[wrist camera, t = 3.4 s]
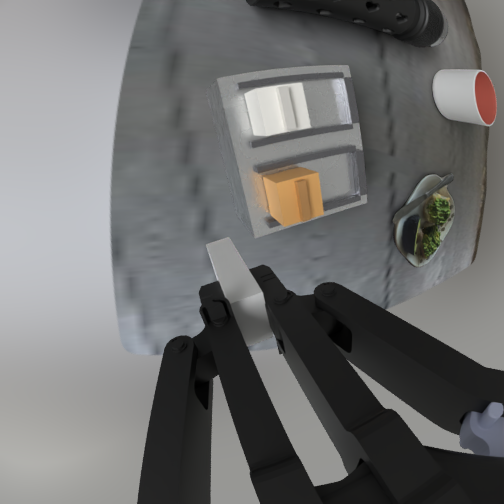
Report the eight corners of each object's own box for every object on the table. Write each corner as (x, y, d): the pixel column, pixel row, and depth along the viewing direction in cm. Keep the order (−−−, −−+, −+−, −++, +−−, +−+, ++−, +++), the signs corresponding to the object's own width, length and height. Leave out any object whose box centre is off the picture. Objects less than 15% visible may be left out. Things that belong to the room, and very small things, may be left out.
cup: (426, 107, 36) (471, 111, 28) (430, 60, 33) (474, 59, 24) (454, 126, 40) (494, 134, 31) (458, 83, 36) (498, 87, 27)
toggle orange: (300, 166, 26) (321, 173, 23) (306, 204, 28) (327, 216, 25) (262, 176, 26) (278, 184, 22) (270, 215, 28) (287, 229, 24)
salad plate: (430, 144, 40) (449, 148, 36) (459, 201, 48) (475, 207, 44) (376, 228, 43) (394, 238, 39) (415, 272, 51) (430, 282, 47)
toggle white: (285, 87, 23) (305, 81, 19) (293, 127, 24) (314, 127, 21) (244, 93, 22) (258, 87, 18) (253, 135, 24) (269, 136, 20)
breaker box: (313, 74, 30) (353, 63, 22) (332, 187, 38) (372, 205, 30) (205, 90, 28) (218, 76, 20) (236, 215, 35) (257, 242, 28)
